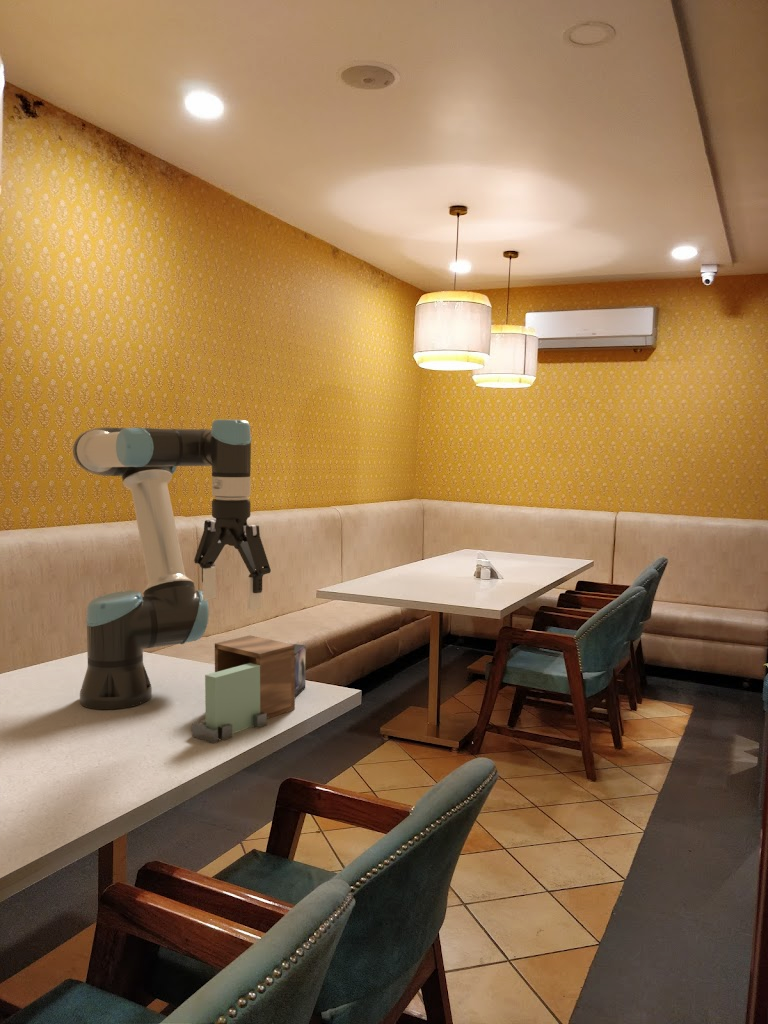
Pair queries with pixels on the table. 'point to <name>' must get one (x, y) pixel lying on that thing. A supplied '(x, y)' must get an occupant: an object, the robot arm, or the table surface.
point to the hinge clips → (223, 729)
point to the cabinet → (263, 669)
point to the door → (233, 696)
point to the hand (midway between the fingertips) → (231, 604)
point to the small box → (300, 668)
